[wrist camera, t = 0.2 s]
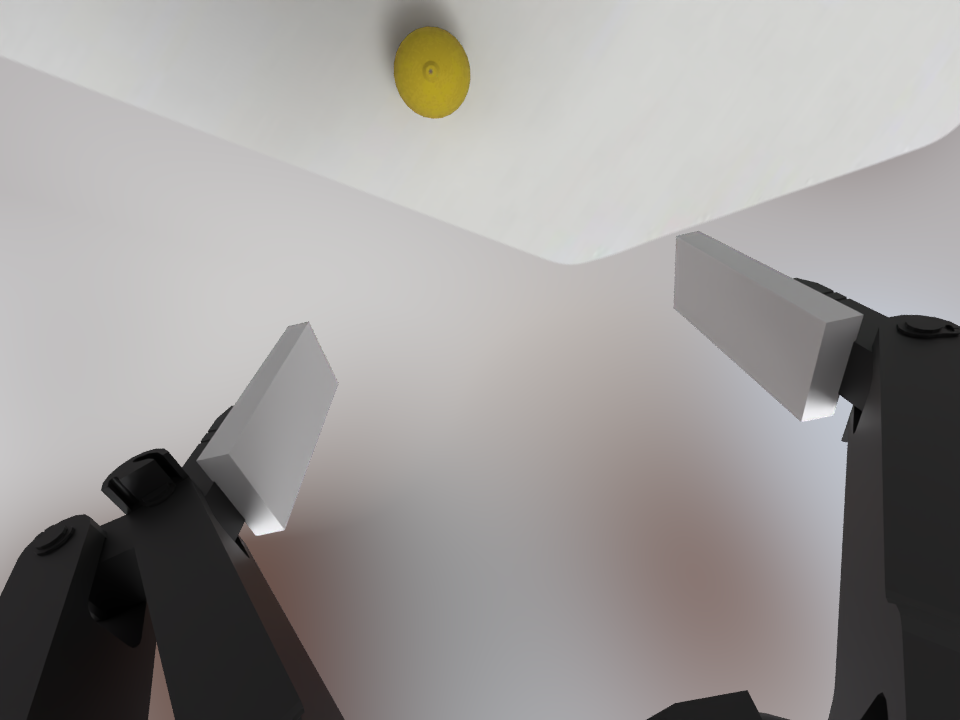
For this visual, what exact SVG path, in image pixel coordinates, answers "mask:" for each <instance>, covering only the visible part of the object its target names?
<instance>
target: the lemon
mask: <svg viewBox="0 0 960 720" xmlns="http://www.w3.org/2000/svg"><path fill="white" fill-rule="evenodd" d="M394 78H395V83H396V87H397V89H398V92H399V94H400V96H401V98H402V99H403V100H404V102H405V103H406V105H407V106H408V107H409V108H411V109H412V110H413V111H414V112H415V113H417V114H419V115H421V116H423V117H428V118H443V117H445V116H447V115H450V114H451V113H453V112H454V111H455V110H457V109H458V108H459V106H460V105H461V104H462V103H463V101H464V99H465V97H466V95H467V92H468V89H469V84H470V66H469V62H468V57H467V55H466V53H465V51H464V49H463V47H462V45H461V44H460V43H459V42H458V40H457V39H456V38H455V37H454V36H453V35H451V34H450V33H449V32H447V31H445V30H443V29H440V28H438V27H423V28H419V29H416V30H415V31H413V32H411V33H410V34H408V36H407V37H406V38H405V39H404V40H403V41H402V42H401V44H400V46H399V48H398V50H397V52H396V57H395V61H394Z"/></svg>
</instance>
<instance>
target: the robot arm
mask: <svg viewBox="0 0 960 720" xmlns="http://www.w3.org/2000/svg"><path fill="white" fill-rule="evenodd" d="M674 309H675V310H677V311H678V312H679V313H680V314H681V315H682V316H683V317H685V318H686V319H687V320H688V321H689V322H690V323H691V324H692V325H693V326H694V327H696V328H697V329H698V330H699V331H700V332H701V333H702V334H704V335H705V336H706V337H707V338H708V339H709V340H710V341H711V342H712V343H713V344H715V345H716V346H717V347H718V348H719V349H720V350H721V351H722V352H724V353H725V354H726V355H727V356H728V357H729V358H730V359H731V360H732V361H734V362H735V363H736V364H737V365H738V366H739V367H740V368H741V369H743V370H744V371H745V372H746V373H747V374H748V375H749V376H750V377H751V378H753V379H754V380H755V381H756V382H757V383H758V384H759V385H760V386H762V387H763V388H764V389H765V390H766V391H767V392H768V393H769V394H771V395H772V396H773V397H774V398H775V399H776V400H777V401H778V402H779V403H781V404H782V405H783V406H784V407H785V408H786V409H787V410H788V411H789V412H791V413H792V414H793V415H794V416H795V417H796V418H797V419H798V420H799V421H801V422H804V421H809V420H813V419H818V418H823V417H828V416H833V415H834V411H835V408H836V405H837V402H838V398H839V395H841V396H842V397H844V398H845V399H846V400H848V401H849V402H850V403H852V404H853V407H852V410H851V413H850V416H849V419H848V422H847V425H846V429H845V431H844V434H843V437H842V441H843V442H848V448H847V467H846V468H847V469H846V486H845V505H844V524H843V543H842V562H841V582H840V601H839V619H838V639H837V658H836V676H835V689H834V696H833V702H832V706H831V710H830V714H829V718H828V720H960V326H958V325H956V324H954V323H952V322H950V321H946V320H943V319H939V318H936V317H929V316H921V315H900V316H894V317H886V316H884V315H882V314H880V313H878V312H876V311H874V310H872V309H870V308H868V307H866V306H864V305H862V304H860V303H858V302H856V301H853V300H851V299H847V298H846V297H845V296H843V295H841V294H839V293H837V292H836V293H834V292H833V290H831V289H829V288H827V287H825V286H823V285H820V284H818V283H815V282H811V281H807V280H802V279H799V278H793V279H792V278H790V277H789V276H787V275H784V274H782V273H781V272H779V271H777V270H775V269H773V268H771V267H769V266H767V265H765V264H763V263H761V262H759V261H757V260H755V259H753V258H751V257H749V256H747V255H745V254H743V253H741V252H739V251H737V250H735V249H733V248H731V247H729V246H727V245H725V244H723V243H721V242H720V241H717V240H716V239H714V238H712V237H710V236H708V235H706V234H704V233H702V232H700V231H697V232H692V233H688V234H683V235H679V236H676V258H675V288H674ZM337 386H338V381H337V379H336V377H335V375H334V373H333V371H332V369H331V367H330V364H329V362H328V360H327V358H326V356H325V354H324V352H323V350H322V348H321V346H320V344H319V342H318V340H317V338H316V335H315V333H314V331H313V329H312V327H311V325H310V323H309V322H305V323H300V324H296V325H292V326H288V327H287V329H286V330H285V332H284V333H283V335H282V336H281V338H280V339H279V341H278V342H277V343H276V345H275V346H274V348H273V350H272V351H271V352H270V354H269V355H268V357H267V358H266V360H265V361H264V362H263V364H262V365H261V367H260V368H259V370H258V371H257V373H256V374H255V376H254V377H253V379H252V380H251V381H250V383H249V384H248V386H247V387H246V389H245V390H244V392H243V393H242V395H241V396H240V398H239V399H238V401H237V402H236V403H235V405H234V406H231V407H230V408H229V409H227V410H226V411H225V412H224V413H223V414H222V415H220V416H219V417H218V418H217V419H216V421H215V422H214V424H213V425H212V426H211V428H210V429H209V431H208V433H206V435H205V436H204V438H203V439H202V441H201V444H199V445H198V446H197V447H196V449H195V450H194V452H193V453H192V454H191V456H190V457H189V459H188V460H187V461H186V463H185V464H184V466H183V467H181V466H180V465H179V464H178V463H177V461H176V460H175V459H174V458H173V457H172V456H171V454H170V453H169V452H168V451H167V450H165V449H153V450H150V451H146V452H143V453H141V454H139V455H137V456H135V457H133V458H131V459H129V460H128V461H126V462H125V463H123V464H122V465H121V466H119V467H118V468H117V469H115V470H114V471H113V472H112V473H111V474H110V475H109V476H108V477H107V479H106V480H105V481H104V482H103V485H102V489H101V491H102V492H103V493H104V494H105V495H106V496H107V497H109V498H110V499H111V500H112V501H113V502H114V503H115V504H116V505H117V506H118V507H119V508H120V509H121V510H122V511H123V512H124V513H125V514H126V515H125V516H122V517H120V518H118V519H115V520H113V521H111V522H108V523H106V524H104V525H101V526H99V525H98V524H97V523H96V522H95V521H94V520H93V519H92V518H90V517H89V516H87V515H85V514H84V515H75V516H73V517H70V518H68V519H65V520H63V521H61V522H59V523H57V524H55V525H52V526H50V527H49V528H47V529H46V530H45V532H41V533H40V534H39V535H38V536H36V537H35V539H34V540H33V541H32V542H31V543H30V544H29V545H28V546H27V547H26V548H25V549H24V551H23V552H22V554H21V555H20V557H19V558H18V560H17V562H16V564H15V566H14V568H13V570H12V573H11V575H10V577H9V579H8V581H7V583H6V585H5V587H4V590H3V591H2V593H1V596H0V720H148V714H149V705H150V695H151V686H152V677H153V668H154V658H155V649H156V641H157V645H158V650H159V654H160V658H161V662H162V667H163V671H164V675H165V679H166V683H167V687H168V691H169V696H170V700H171V704H172V709H173V713H174V717H175V720H344V718H343V716H342V714H341V712H340V711H339V709H338V707H337V705H336V704H335V702H334V700H333V698H332V696H331V695H330V693H329V691H328V690H327V688H326V686H325V684H324V682H323V681H322V679H321V677H320V675H319V673H318V672H317V670H316V668H315V666H314V665H313V663H312V661H311V659H310V658H309V656H308V654H307V652H306V650H305V649H304V647H303V645H302V643H301V641H300V640H299V638H298V637H297V634H296V633H295V631H294V629H293V627H292V626H291V624H290V622H289V620H288V618H287V617H286V615H285V613H284V611H283V610H282V608H281V606H280V604H279V602H278V601H277V599H276V597H275V595H274V594H273V592H272V590H271V588H270V587H269V585H268V583H267V581H266V580H265V578H264V576H263V574H262V572H261V571H260V569H259V567H258V565H257V564H256V562H255V560H254V558H253V556H252V555H251V553H250V551H249V549H248V547H247V546H246V544H245V543H244V541H243V540H242V539H241V538H240V537H239V535H238V534H239V532H240V530H241V528H242V526H243V524H244V522H246V524H247V525H248V526H249V527H250V529H251V530H252V531H253V532H254V534H255V535H256V536H258V535H263V534H268V533H272V532H277V531H282V530H285V527H286V525H287V522H288V519H289V517H290V514H291V511H292V508H293V506H294V503H295V500H296V498H297V495H298V492H299V489H300V486H301V484H302V481H303V478H304V476H305V473H306V470H307V467H308V465H309V462H310V460H311V457H312V454H313V451H314V448H315V446H316V443H317V440H318V438H319V435H320V432H321V430H322V427H323V424H324V421H325V418H326V416H327V413H328V410H329V408H330V405H331V402H332V400H333V397H334V394H335V391H336V389H337ZM647 720H789V719H785V718H781V717H778V716H774V715H770V714H766V713H759V712H758V710H757V708H756V706H755V704H754V702H753V700H752V699H751V696H750V695H749V693H748V691H747V690H746V691H740V692H736V693H729V694H724V695H718V696H713V697H708V698H702V699H696V700H691V701H685V702H680V703H675V704H673V705H671V706H669V707H668V708H666V709H664V710H662V711H661V712H659V713H657V714H656V715H654V716H652V717H651V718H649V719H647Z"/></svg>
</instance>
